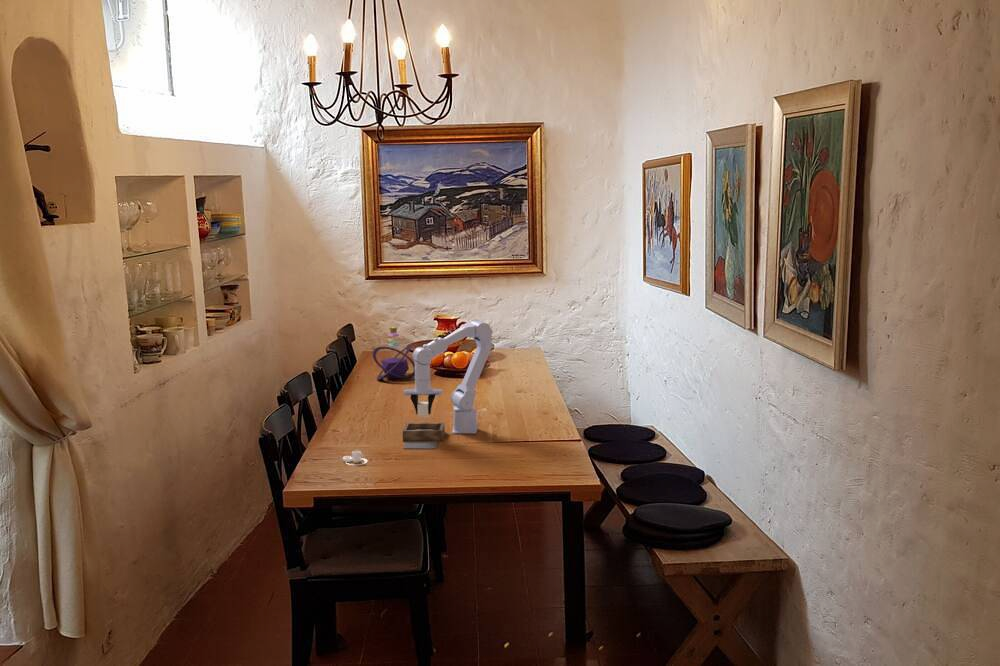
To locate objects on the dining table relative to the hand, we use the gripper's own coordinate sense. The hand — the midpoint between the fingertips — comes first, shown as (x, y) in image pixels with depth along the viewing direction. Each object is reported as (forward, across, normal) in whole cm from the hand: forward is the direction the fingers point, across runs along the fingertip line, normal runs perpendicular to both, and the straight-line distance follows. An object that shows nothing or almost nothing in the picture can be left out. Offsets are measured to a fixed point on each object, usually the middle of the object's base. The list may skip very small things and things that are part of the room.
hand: (423, 413), depth 350 cm
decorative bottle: (+10, +25, -96) cm, 100 cm away
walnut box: (+9, 0, 0) cm, 9 cm away
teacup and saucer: (+10, +22, +26) cm, 35 cm away
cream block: (+1, 0, 0) cm, 1 cm away
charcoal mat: (+9, 0, +11) cm, 14 cm away
